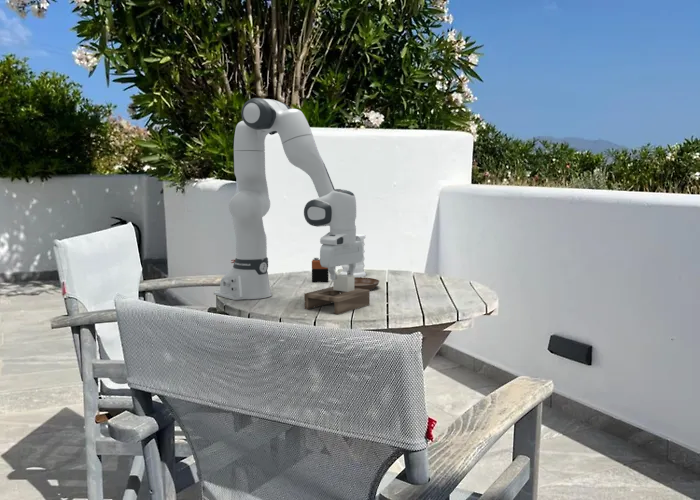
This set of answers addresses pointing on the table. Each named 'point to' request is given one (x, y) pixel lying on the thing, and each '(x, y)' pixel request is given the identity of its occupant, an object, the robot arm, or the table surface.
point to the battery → (319, 271)
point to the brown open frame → (338, 299)
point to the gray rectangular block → (344, 283)
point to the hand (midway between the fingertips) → (342, 277)
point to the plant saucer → (365, 283)
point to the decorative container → (360, 265)
